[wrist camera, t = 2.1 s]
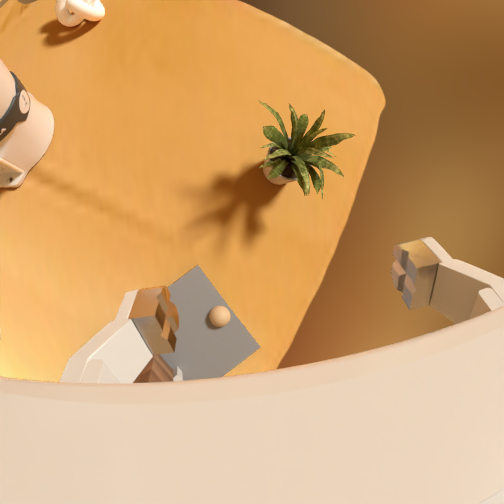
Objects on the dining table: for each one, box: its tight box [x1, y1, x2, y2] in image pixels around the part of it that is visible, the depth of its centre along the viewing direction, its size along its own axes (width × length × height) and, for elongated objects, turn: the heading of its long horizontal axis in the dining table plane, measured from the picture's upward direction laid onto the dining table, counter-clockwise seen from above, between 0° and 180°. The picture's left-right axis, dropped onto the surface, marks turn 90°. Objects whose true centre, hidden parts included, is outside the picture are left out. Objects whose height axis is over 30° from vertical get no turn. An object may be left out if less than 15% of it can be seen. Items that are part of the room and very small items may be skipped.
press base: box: [160, 265, 260, 381], centre depth 42 cm, size 24×16×6 cm, turn 126°
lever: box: [133, 354, 173, 383], centre depth 32 cm, size 3×6×19 cm, turn 36°
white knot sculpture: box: [55, 0, 105, 27], centre depth 39 cm, size 11×12×9 cm
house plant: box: [259, 101, 354, 199], centre depth 42 cm, size 14×14×16 cm
